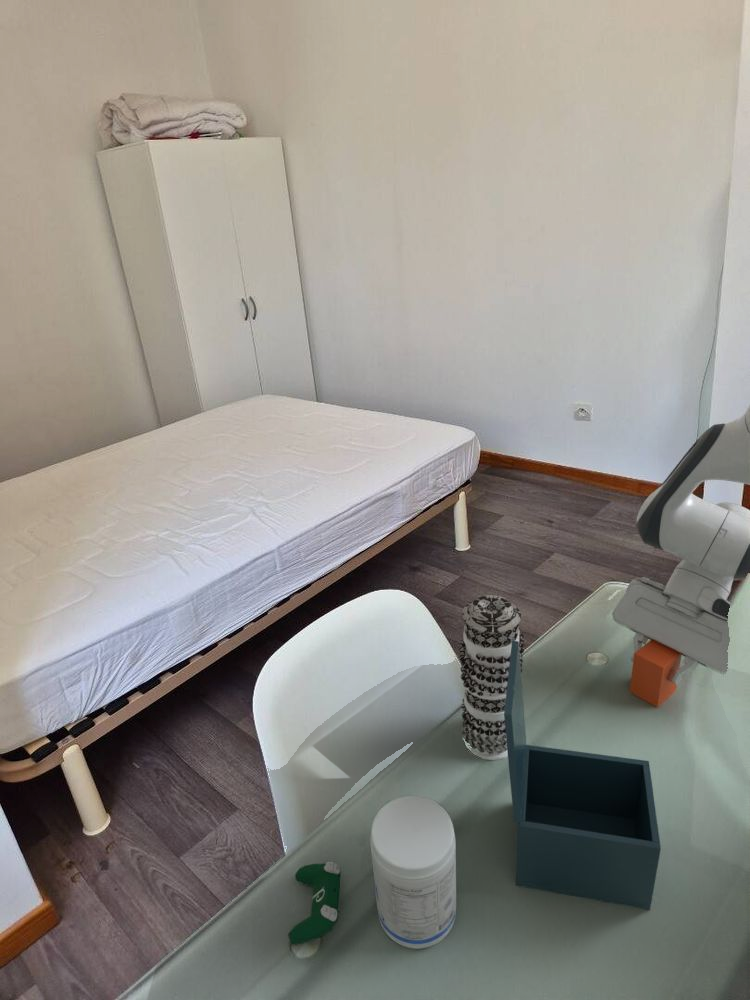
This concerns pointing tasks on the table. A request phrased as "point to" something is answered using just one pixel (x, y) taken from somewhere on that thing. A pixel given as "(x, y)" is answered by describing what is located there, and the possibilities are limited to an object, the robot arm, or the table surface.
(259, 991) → the table surface
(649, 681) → the block
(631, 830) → the dark teal open box
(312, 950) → the table surface
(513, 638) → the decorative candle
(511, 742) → the lid
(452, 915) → the supplement tub
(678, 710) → the table surface
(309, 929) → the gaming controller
